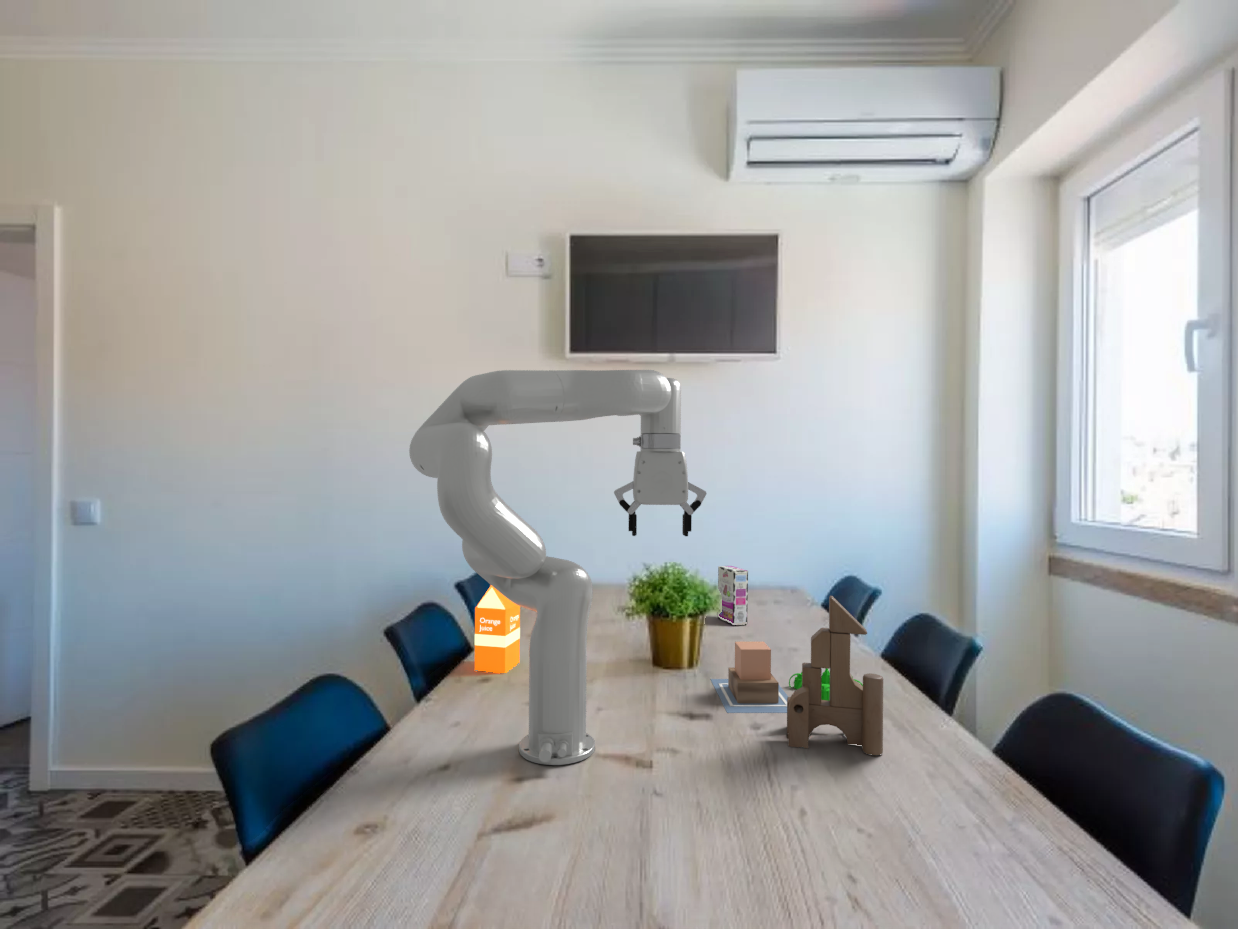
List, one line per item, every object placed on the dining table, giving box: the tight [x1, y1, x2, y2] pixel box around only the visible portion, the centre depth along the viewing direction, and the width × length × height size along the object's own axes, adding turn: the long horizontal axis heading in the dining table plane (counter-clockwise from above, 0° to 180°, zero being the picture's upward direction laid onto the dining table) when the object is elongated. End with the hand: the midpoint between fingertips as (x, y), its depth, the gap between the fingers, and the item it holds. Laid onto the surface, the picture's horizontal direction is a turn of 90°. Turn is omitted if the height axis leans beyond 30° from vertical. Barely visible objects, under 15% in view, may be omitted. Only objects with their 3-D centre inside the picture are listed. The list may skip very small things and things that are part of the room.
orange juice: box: [474, 584, 521, 674], centre depth 158 cm, size 8×9×20 cm
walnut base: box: [727, 667, 780, 703], centre depth 137 cm, size 10×8×4 cm
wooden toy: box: [786, 595, 884, 756], centre depth 115 cm, size 16×7×25 cm, turn 75°
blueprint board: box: [710, 678, 789, 714], centre depth 137 cm, size 20×14×1 cm
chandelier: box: [788, 668, 863, 701], centre depth 140 cm, size 15×15×7 cm
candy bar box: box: [717, 565, 749, 623], centre depth 205 cm, size 11×5×16 cm, turn 17°
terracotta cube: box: [734, 641, 772, 680], centre depth 137 cm, size 6×6×6 cm
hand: (659, 535), depth 127 cm, fingers open, 9 cm apart
